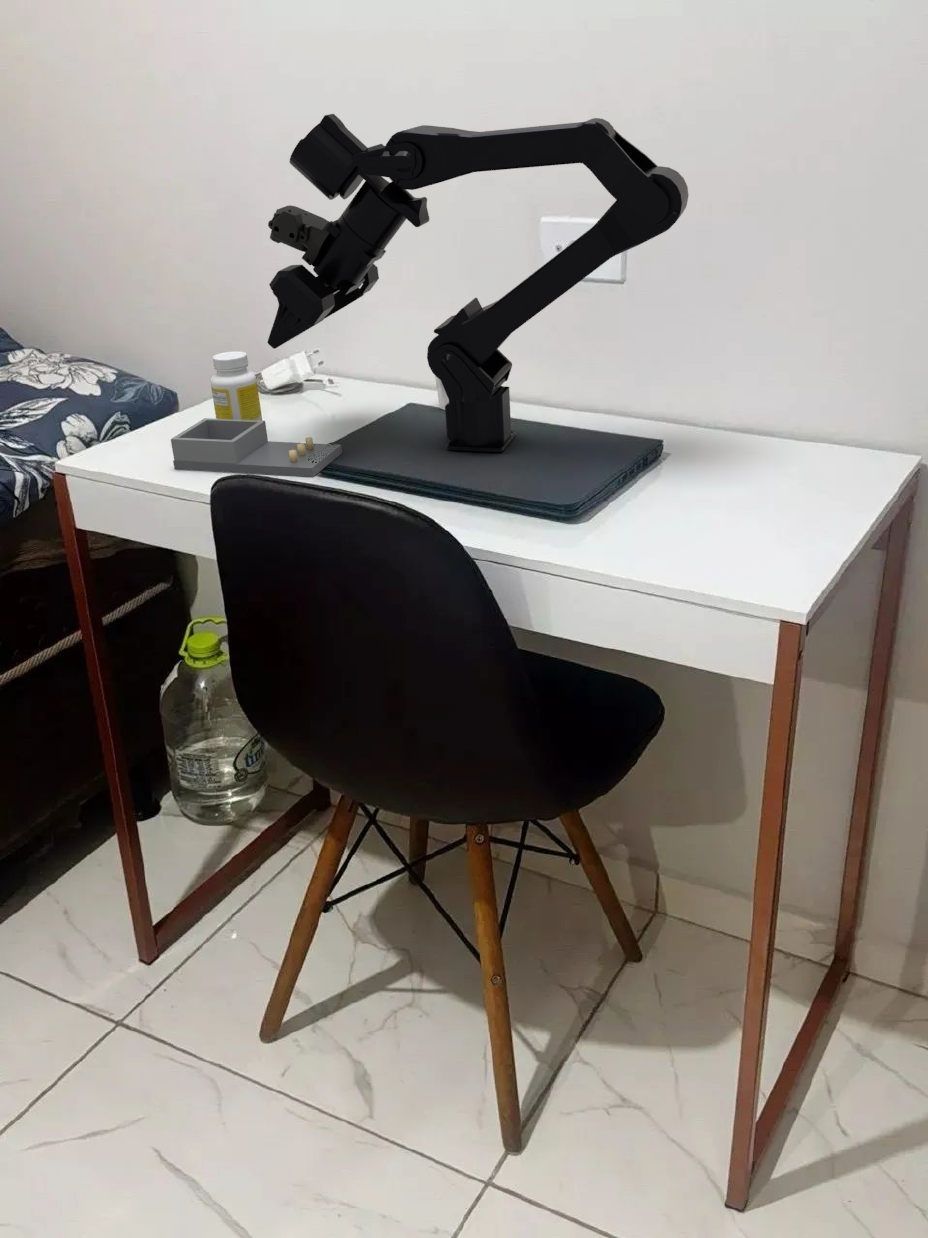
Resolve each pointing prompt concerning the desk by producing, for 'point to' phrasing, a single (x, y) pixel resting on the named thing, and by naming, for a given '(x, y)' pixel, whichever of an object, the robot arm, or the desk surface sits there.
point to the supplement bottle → (235, 388)
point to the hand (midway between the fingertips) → (287, 335)
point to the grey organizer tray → (246, 450)
